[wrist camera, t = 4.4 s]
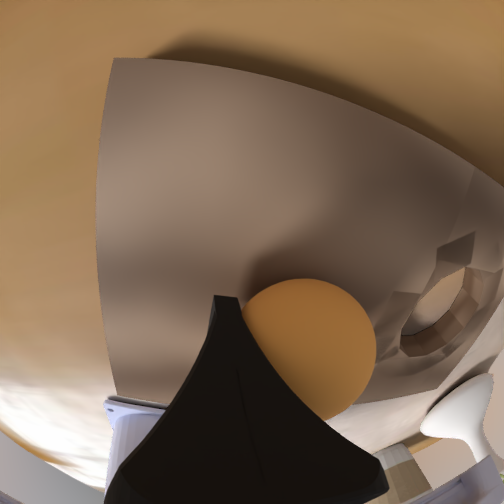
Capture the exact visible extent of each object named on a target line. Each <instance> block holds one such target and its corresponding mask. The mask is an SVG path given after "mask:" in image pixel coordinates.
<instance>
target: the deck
mask: <svg viewBox="0 0 504 504" xmlns="http://www.w3.org/2000/svg"><path fill="white" fill-rule="evenodd" d="M96 251H97V268H98V281H99V292H100V301H101V310H102V317H103V324H104V331H105V337H106V343H107V349H108V354H109V359H110V364H111V369H112V374H113V378H114V383H115V387H116V391H117V395H119V396H124V397H129V398H134V399H140V400H146V401H152V402H159V403H166V404H170V403H171V402H172V400H173V398H174V397H175V395H176V394H177V392H178V391H179V389H180V388H181V386H182V384H183V383H184V381H185V379H186V377H187V376H188V374H189V372H190V370H191V368H192V366H193V365H194V363H195V361H196V359H197V356H198V354H199V352H200V350H201V348H202V346H203V343H204V341H205V339H206V336H207V331H208V325H209V319H210V313H211V308H212V302H213V296H214V295H221V296H230V297H237V298H238V301H239V304H240V307H241V310H242V308H243V307H244V306H245V305H246V304H247V302H249V301H250V300H251V299H252V298H253V297H254V296H255V295H257V294H258V293H259V292H261V291H263V290H264V289H266V288H268V287H270V286H272V285H274V284H277V283H279V282H283V281H286V280H292V279H316V280H321V281H325V282H328V283H330V284H333V285H335V286H338V287H339V288H341V289H343V290H344V291H346V292H347V293H349V294H350V295H351V296H352V297H353V298H354V299H356V301H357V302H358V303H359V304H360V305H361V306H362V308H363V309H364V310H365V312H366V314H367V316H368V317H369V319H370V321H371V324H372V327H373V330H374V333H375V339H376V360H375V365H374V369H373V372H372V375H371V378H370V380H369V382H368V384H367V386H366V388H365V389H364V391H363V392H362V394H361V395H360V396H359V397H358V398H357V400H356V401H355V402H354V403H353V404H352V405H354V404H362V403H369V402H375V401H381V400H387V399H393V398H398V397H403V396H408V395H412V394H417V393H421V392H426V391H430V390H434V389H437V388H438V387H439V386H440V384H441V383H442V382H443V381H444V380H445V379H446V378H447V376H448V375H449V374H450V373H451V372H452V370H453V369H454V368H455V367H456V365H457V364H458V363H459V362H460V360H461V359H462V358H463V357H464V355H465V354H466V353H467V351H468V350H469V349H470V347H471V346H472V345H473V343H474V342H475V340H476V339H477V338H478V336H479V335H480V333H481V332H482V330H483V329H484V327H485V326H486V324H487V323H488V321H489V320H490V318H491V317H492V315H493V313H494V312H495V310H496V309H497V307H498V305H499V304H500V302H501V300H502V298H503V297H504V187H503V186H501V185H500V184H499V183H497V182H496V181H495V180H493V179H492V178H491V177H489V176H488V175H486V174H485V173H484V172H482V171H481V170H479V169H478V168H476V167H475V166H473V165H472V164H470V163H469V162H467V161H466V160H464V159H463V158H461V157H460V156H458V155H456V154H455V153H453V152H451V151H450V150H448V149H446V148H445V147H443V146H441V145H440V144H438V143H436V142H434V141H433V140H431V139H429V138H427V137H425V136H423V135H421V134H420V133H418V132H416V131H414V130H412V129H410V128H408V127H406V126H404V125H402V124H400V123H398V122H396V121H393V120H391V119H389V118H387V117H385V116H383V115H380V114H378V113H376V112H373V111H371V110H369V109H366V108H364V107H362V106H359V105H357V104H354V103H351V102H349V101H346V100H344V99H341V98H338V97H335V96H333V95H330V94H327V93H324V92H321V91H318V90H315V89H312V88H308V87H305V86H302V85H299V84H295V83H292V82H288V81H284V80H281V79H277V78H273V77H269V76H265V75H260V74H256V73H252V72H247V71H242V70H237V69H232V68H226V67H220V66H214V65H208V64H201V63H193V62H185V61H175V60H163V59H147V58H114V60H113V64H112V69H111V73H110V78H109V83H108V88H107V93H106V99H105V105H104V112H103V118H102V126H101V134H100V143H99V153H98V166H97V183H96ZM463 267H465V268H466V269H465V275H464V281H463V286H462V289H461V290H460V292H459V294H458V296H457V297H456V299H455V301H454V303H453V304H452V306H451V308H450V309H449V311H448V312H446V313H445V314H444V315H443V316H442V317H441V318H440V319H439V320H438V321H437V322H436V323H435V324H434V325H433V326H431V327H429V328H427V329H425V330H423V331H421V332H419V333H417V334H415V335H410V336H401V329H402V327H403V326H404V324H405V322H406V321H407V319H408V317H409V316H410V314H411V312H412V311H413V309H414V307H415V306H416V304H417V302H418V301H419V300H420V299H421V298H423V297H424V296H425V295H426V294H427V293H428V292H429V291H430V290H431V289H432V288H433V287H434V286H435V285H436V284H437V283H438V282H439V281H440V280H441V279H442V278H444V277H446V276H448V275H450V274H452V273H454V272H456V271H458V270H460V269H462V268H463Z"/></svg>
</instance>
